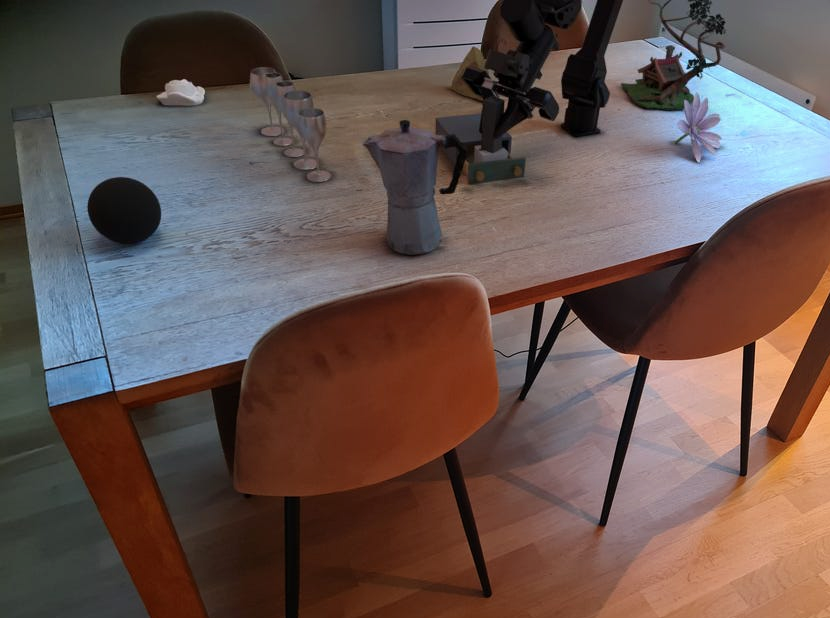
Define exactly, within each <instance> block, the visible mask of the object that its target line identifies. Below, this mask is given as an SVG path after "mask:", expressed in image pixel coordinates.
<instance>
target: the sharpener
mask: <svg viewBox="0 0 830 618" xmlns="http://www.w3.org/2000/svg"><path fill="white" fill-rule="evenodd" d="M505 103H506V100H505V99H503V98H501V97H500V98H497V97H494V96H491V97H489V98H486V99H484V100H483V101H482V105H483V118H482V138H481V145H480V146H475V152H474V163H480V162H488V161H496V160H503V159H507V155H508V152H507V151H506V150H505V149H504V147H503V146H502V136H500V137H499V138H498V139H494V138H493V134H494V131H495V129H496V127H497V125H498V123H499V121H500V120H501V118H502V116H503V114H504V112H505Z"/></svg>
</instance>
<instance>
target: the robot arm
mask: <svg viewBox="0 0 830 618" xmlns="http://www.w3.org/2000/svg"><path fill="white" fill-rule="evenodd" d="M623 2H624V0H596V1H595V6H594V8H593V12H592V15H591V18H590V21H589V24H588V27H587V30H586V33H585V36H584V40H583V42H582V45H581V48H579V50H578V51H577V52H576V53H574V54H573V53H570V54H569V55H568V57H567V59H566V64H565V67H564V70H563V72H562V73H561V74H562V75H561V79H560V85H561V86H560V87H561V98H562V99H563V100H568V101H567V107H566V108H565V111H564V120H563V122H561V124H560V127H562V128H563V129H565V130H566V131H567V132H568V133H570V134H571V135H572V136H574V137H576V138H577V137H583V136H589V135H595V134H600V133H601V131H602V130H601V129H600V128H598V122H599V116H600V110H601V109H604V108H606V105H607V104H608V102H609V101H610V100H609V99H610V96H611V91H610V90H609V88H608V86H607V84H606V77H607V73H608V70H607V63H606V58H605V55H606V53H607V49H608V46H609V43H610V41H611V38H612V35H613V31H614V28H615V26H616V23H617V19H618V17H619V14H620V11H621V8H622V5H623ZM582 5H583V0H502V2H501V5H500V9H499V13H500V16H501V18H502V20H503V22H504V23H505V25H506V27H507V29H508V30H509V32H510V34H511V35H512V37H513V38H514V39H515V40H516V41H517V42H518V43H517V45H516V46H515V48H514V50H511V49H508V50H507V52H506V53H504V52H501V51H498V50H494V49H492V48H489V50H488V53H487V56H486V59H485V66H484V68H485V69H488V71H489V70H490V71H493V73H492V75H493V76H494V78H495V79H497V81H496V80H494V79H492V77H491V76H490V74H489V75H488V73H487V72H486V71H485V70H482V69H479V68H476V67H473V66H470V67H467V68H466V69H465V71H464V73H463V74H462V76H461V78H462V80H463V81H464V82H465V84H466V85H467V86H468V87H469V89H470V90H471V91H472V92H473V93H474V94H476V95H478V96H481V97H482V98H483V100H484V99H486V98H489V97H491V96H494V97H497V98H500V99H501V96H502V97H505V98H508V99H507V104H506V109H504V114H503V116H502V118H501V120H500V121H499V123H498V125H497V127H496V129H495V131H494V134H493V138H494V139H498V138H499V137H500V136H502V135H503V134H504V133H506V132H509V131H510V130H511V129H513V128H514V127H516V126H517V125H519V124H520V123H522V122H524V121H526V120H527V119H533V117H534V114H533V113H534V111H535V109H538V113H539V117H540V118H541V119H545V120H547V121H550V122H555V121H556V118H557V117H558V115H559V113H560V105H559V103H558V102H557V100H556V98H555V97H554V95H553V93H552V91H549V90H546V89H543V88H541V87H537V86H533V85H534V83H535V81H536V80H539V81H540V80H541V78H542V77H543V73H542V71H541V70H542V68H543V67H544V65H545V63H546V60H547V59H548V57H549V56H550V53H551V51H552V50H553V51H556V52H557V51H559V49H560V42H559V40H558V39H559V38H558V36H559V34H558V33H556V32H554V31H553V30H552V27H553V28H557V29H560V30H568V29H570V27H572V25H573V24H574V23H575V21H576V20H577V18H578V16H579V14H580V12H581V10H582V7H583V6H582ZM480 113H481V120H480V126H479V132H480V134H482V118H483V104H482V108H481V112H480Z"/></svg>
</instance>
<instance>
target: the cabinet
mask: <svg viewBox="0 0 830 618" xmlns="http://www.w3.org/2000/svg"><path fill="white" fill-rule="evenodd" d="M481 113H482V112H478V113H469V114H468V113H466V114H458V115H449V116H439V117H435V127H434V128H435V129H434V131H435V134H434V135H445V136H447V135H452V134H455V135H456V137H457V138H458V139H459V141H460V142H462V143H463V145H470V144H478V143H481V138H482V134H480V132H479V126H480V120H481ZM512 139H513V136H512V135H511V134H510V133H509V131H507V132H506V133H504V134H503V135H502V146H503V147H504V148H505V149H506V150H507V151H508V152H509V154H510V155H512V154H511V152H512V142H513V141H512ZM441 151H442V152H443V154H444V155H445V156H446V157H447V159H448V160H449V162H450V163H451V164H452V165H453V167H455V164H456V161H457V156H458V154H459V150H458V149H457V148H456V147H450V148H447V149H441Z"/></svg>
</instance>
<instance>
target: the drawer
mask: <svg viewBox="0 0 830 618" xmlns="http://www.w3.org/2000/svg"><path fill="white" fill-rule="evenodd" d="M480 145H481V143H478V144H470V145H464V146H465V147H466V148H467V151H468V153H467V159H465V162H464V166H463V169H462V172H463V173H464V175H465V176H467V184H468V185H475V184H484V183H489V182H490V183H491V182H498V181H505V180H506V181H507V180H513V179H518V178H519V179H520V178H521V179H522V178H525V172H526V171H525V170H526V163H527V158H526V157H525V156H521V157H513V156H512V154H509V152H508V151H507V150H506V149H505V148H504V149H505V150H506V151H507V152H508V155H507V159H503V160H496V161H488V162H480V163H474V152H475V146H480Z"/></svg>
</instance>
